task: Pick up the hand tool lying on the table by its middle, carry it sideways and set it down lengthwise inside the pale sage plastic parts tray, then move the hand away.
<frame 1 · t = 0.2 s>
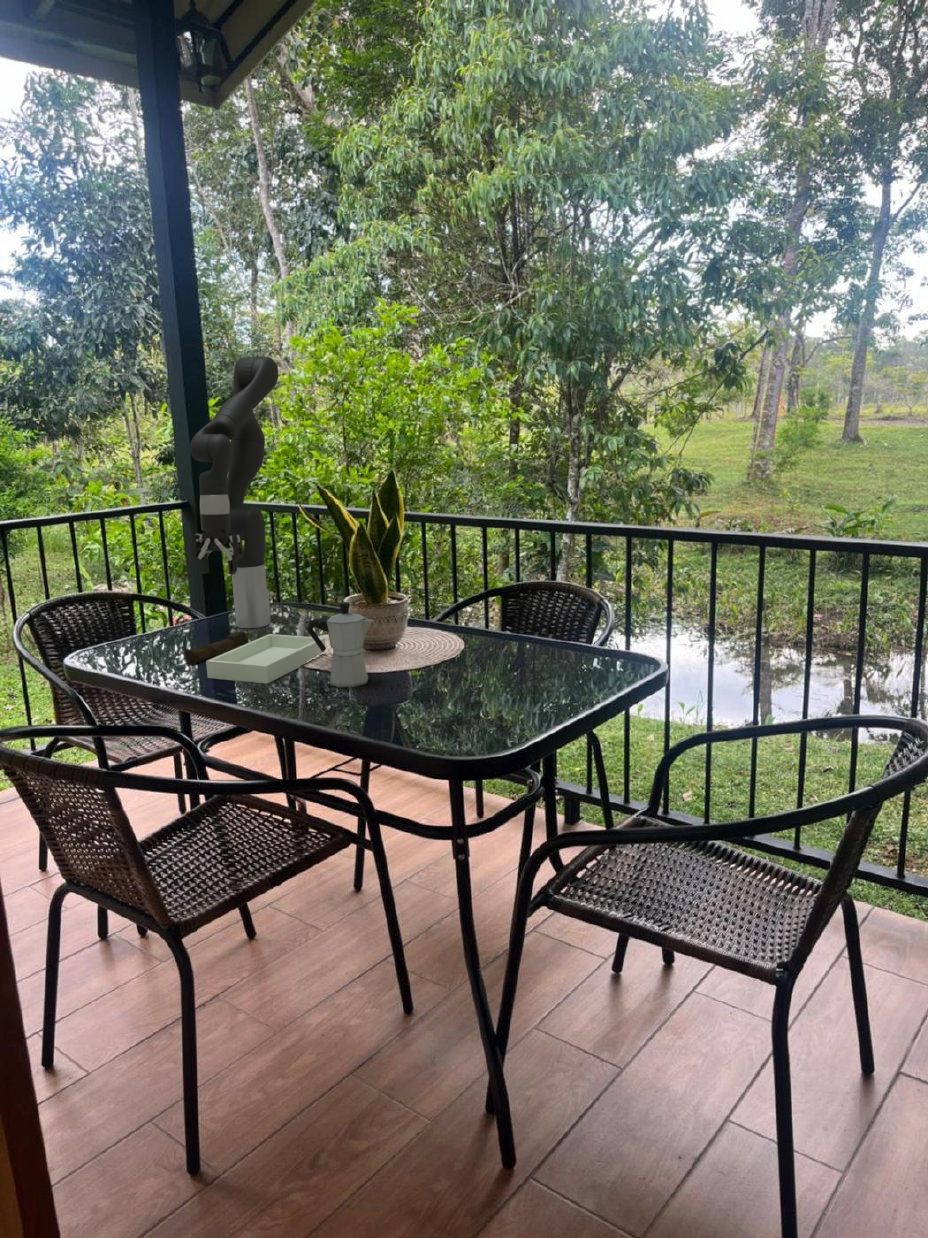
hand: (218, 573, 246), 17 cm above the table, tool pointing down, fingers open, 8 cm apart
parts tray: (269, 665, 221), on the table
coffee maker: (344, 682, 206), on the table
hand tool: (218, 656, 232), on the table
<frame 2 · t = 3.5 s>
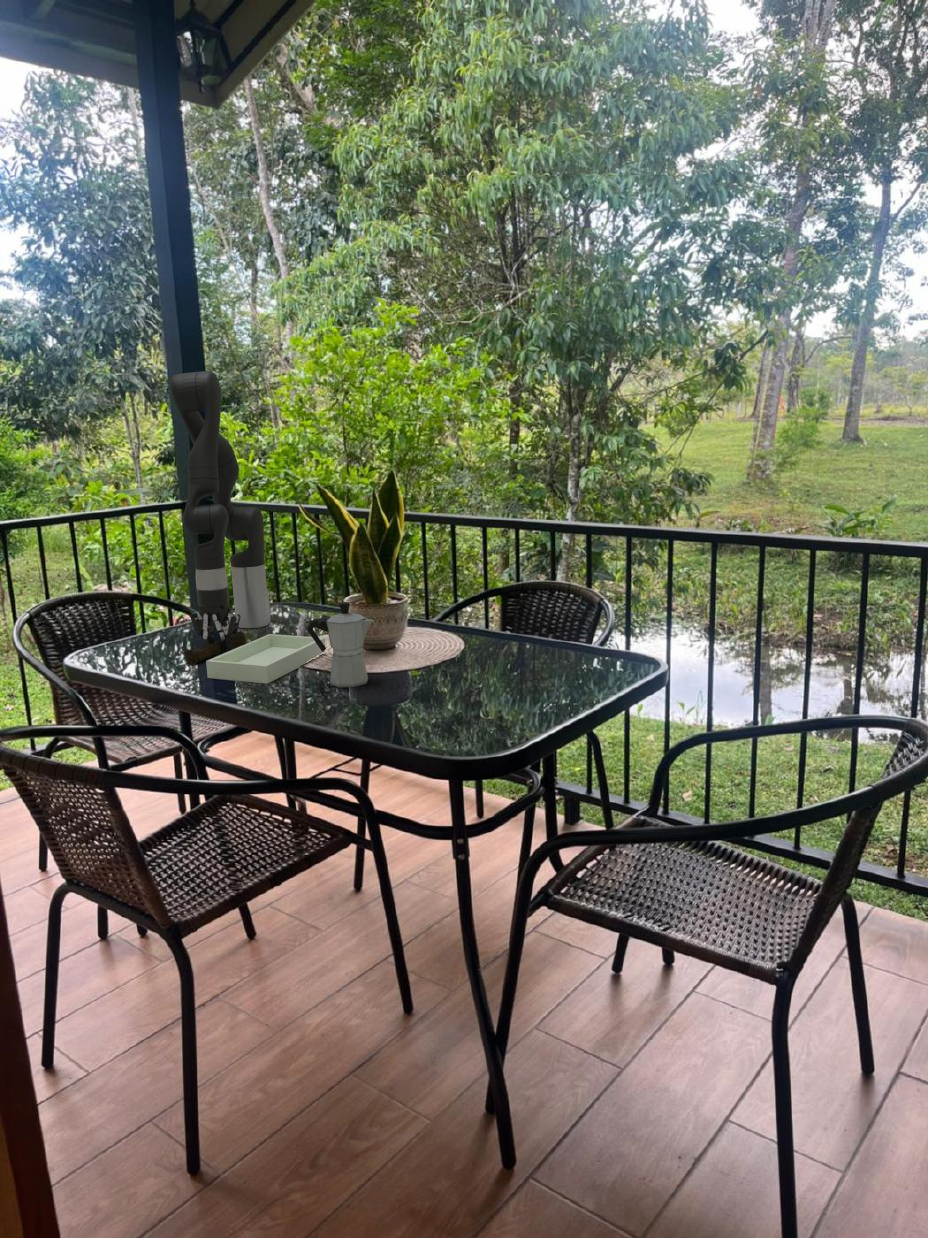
hand: (218, 653, 232), 0 cm above the table, tool pointing down, fingers closed on hand tool, 3 cm apart
hand tool: (217, 656, 232), on the table, touching gripper
everything else where it was.
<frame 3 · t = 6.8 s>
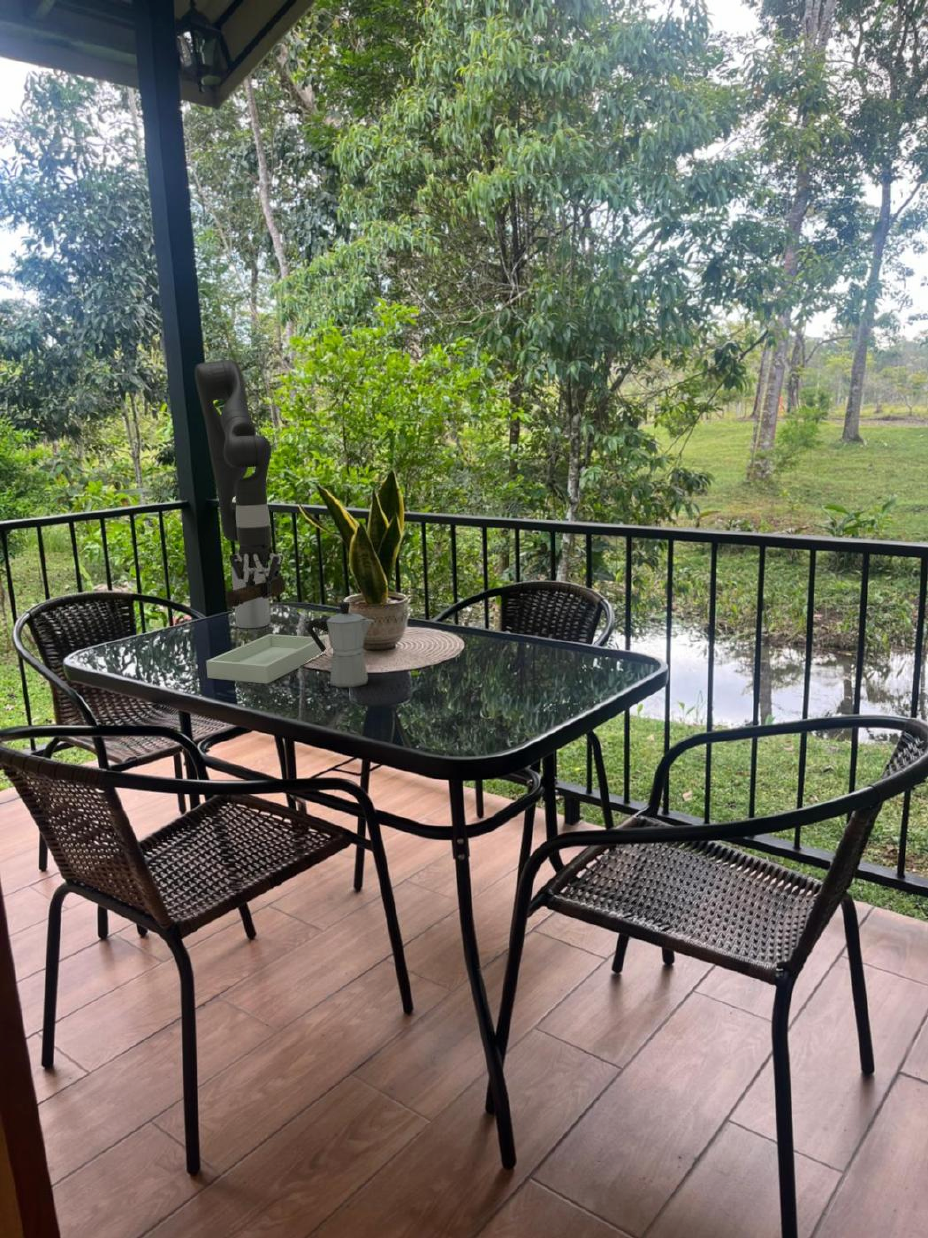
hand: (259, 597, 217), 17 cm above the table, tool pointing down, fingers closed on hand tool, 3 cm apart
hand tool: (257, 600, 218), point 16 cm above the table, touching gripper
everything else where it was.
when the fingers open (3 cm above the table, at t = 9.6 s): hand tool drops 1 cm, resting on parts tray.
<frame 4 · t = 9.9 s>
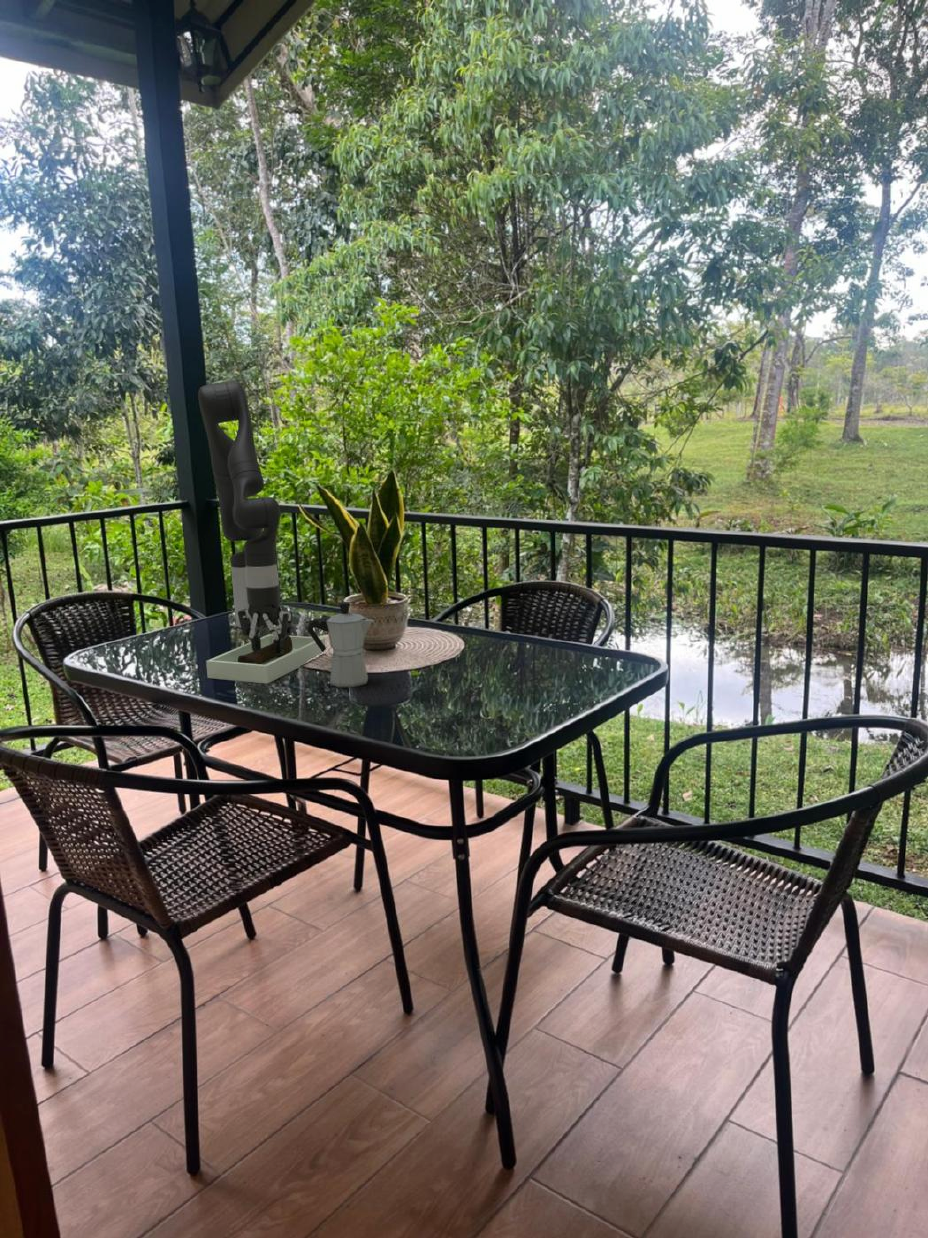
hand: (268, 653, 220), 3 cm above the table, tool pointing down, fingers open, 5 cm apart
hand tool: (267, 661, 221), point 1 cm above the table, touching parts tray
everything else where it was.
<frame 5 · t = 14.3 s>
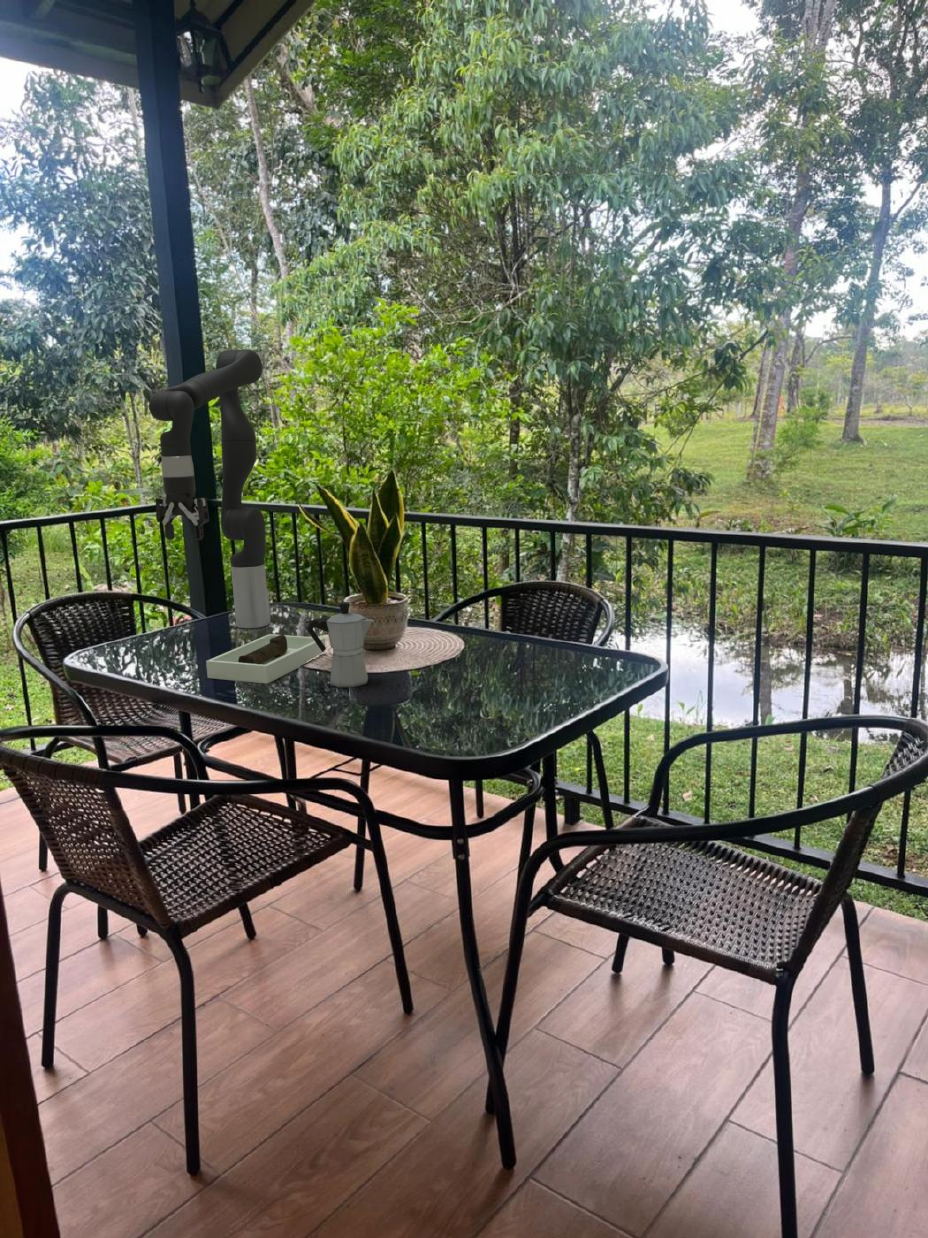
hand: (184, 539, 233), 28 cm above the table, tool pointing down, fingers open, 8 cm apart
at the end: hand tool inside the target area on the parts tray (1.1 cm from its centre), point 0.8 cm above the parts tray's base; the gripper is holding nothing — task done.
